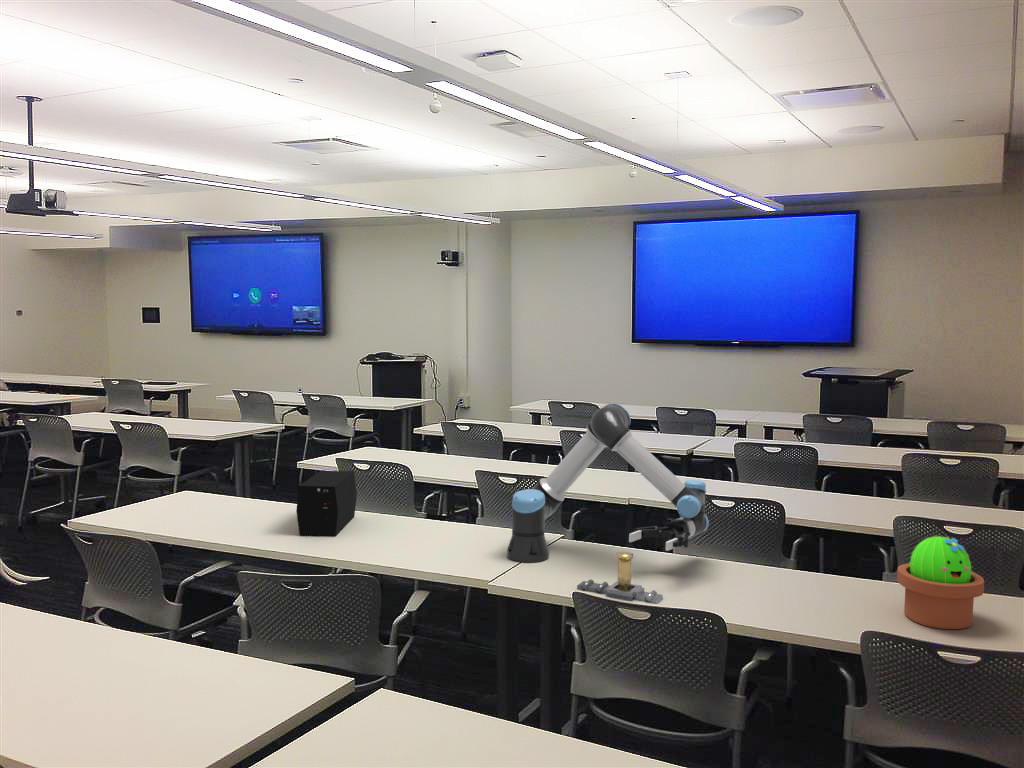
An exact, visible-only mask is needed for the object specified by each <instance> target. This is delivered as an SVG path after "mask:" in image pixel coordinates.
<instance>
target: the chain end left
mask: <svg viewBox="0 0 1024 768" xmlns="http://www.w3.org/2000/svg"><path fill="white" fill-rule="evenodd" d="M610 586H611V585H609V583H608V582H606V581H603V582H602V583H597V582H595V581H594V580H593V579H592V578H591V579H589V580H587V581H585V580H583V581H581V582H580V583H578V584H577V585H576V587H577V588H576V589H577V590H581V591H583V592H584V591H586V592H592V593H597V594H603V595H606V597H607V598H608V597H609V598H613V597H615V598H614V599H620V600H625V601H631V602H633V601H634V600H635V599H634V596H633V597H629V596H623V595H617V594H612V593H606V589H607V588H608V587H610ZM617 589H618V588H617Z"/></svg>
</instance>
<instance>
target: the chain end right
mask: <svg viewBox="0 0 1024 768" xmlns="http://www.w3.org/2000/svg"><path fill="white" fill-rule="evenodd" d="M609 586H610V587H608V588H607V589H606V593H612V594H617V595H623V596H629V597H633V596H634V600H637V601H641V602H646V603H652V604H659V603H660V602H661V601H662V600H663V599H664V595H663V594H660V593H658V592H657V591H656V590H651V591H650V592H648V591H645V587H643V585H640V584H635V583H631V590H630V591H626V590H620V589H617V588H618V580H617V581H615V582H613V583H612V584H611V585H609Z"/></svg>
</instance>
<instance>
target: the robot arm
mask: <svg viewBox="0 0 1024 768" xmlns="http://www.w3.org/2000/svg"><path fill="white" fill-rule="evenodd" d="M630 425H631V415H630V412H629V410H628V409H627V408H626V407H624V406H623V405H621V404H619V403H609V404H606V405H604V406H603V407H600V408H599V409H597V410H596V411H595V412H594V413H593V415H592V416H591V420H590V421H589V423H587V425H586V432H585V434H584V435H583V436H582V437H581V438H580V439H579V441H578V442H577V443H576V444H575V445H574V447H572V448H571V450H570V451H569V452H568V453H567V454H566V455H565V457H564V458H563V459H562V460H561V461H560V462H559V464H558V465H557V466H556V467H555V468H554V469H553V470H552V471H551V472H550V474H549V475H548V476H547V477H544V478H543V477H542V478H540V479H539V480H538V481H537V482H536V484H535V485H534V486H533V487H532V488H530V489H529V488H526V489H523V490H518V491H516V492H514V494H513V495H512V501H511V506H512V507H511V509H512V511H511V516H512V517H511V524H512V525H511V526H512V527H511V531H512V532H511V537H510V540H509V543H508V547H507V549H506V552H507V553H506V557H507V558H508V559H509V560H511V561H514V562H519V563H539V562H543V561H546V560H548V559H549V557H550V550H549V547H548V543H547V540H546V536H545V521H546V519H548V518H549V517H551V516H553V514H555V513H556V512H557V509H558V508H559V506H560V505H561V504H562V503H563V502H564V500H565V493H566V492H567V491H568V490H569V488H570V487H571V486H572V485H574V483H575V482H576V481H577V480H578V478H579V477H580V476H581V475H582V474H583V473H584V472H585V470H586V469H587V468H588V467H589V466H590V464H592V463H593V462H594V460H596V458H597V457H598V456H599V454H601V452H602V451H603V450H604V449H605V448H608V449H610V451H611V452H617V453H618V455H620V456H621V457H622V458H623V459H624V460H625V461H627V463H629V464H630V466H632V467H633V468H634V469H635V470H636V471H637V472H638V473H639V474H640V475H641V476H643V478H645V480H647V482H649V483H650V484H651V485H652V486H653V487H654V488H655V489H656V490H657V491H659V492H660V493H661V494H662V495H663V496H664V497H665V498H666V499H667V500H668V501H669V502H670V503H671V504H672V505H673V506H674V507H676V510H677V513H678V514H679V515H680V516H681V517H679V518H675V519H673V520H670V521H669V522H668V523H667V524H666V525H665V526H663V527H662V526H661V527H659V526H658V525H656V524H655V525H652V526H643V527H634V528H633V532H631V533H629V535H628V543H633V542H635V541H638V540H641V539H642V538H657V539H664V540H668V541H666V542H665V550H664V551H667V552H668V551H671V550H674V549H676V548H678V547H680V548H681V547H683V548H688V547H689V542H690V541H691V539H692V538H693V537H695V536H698V535H701V534H703V533H704V532H705V531H707V530H708V528H709V526H710V521H709V518H708V516H707V515H706V511H705V507H706V493H707V490H706V486H707V485H706V482H705V481H702V480H700V479H699V480H698V479H687V480H685V481H684V482H683V481H681V480H680V479H679V478H678V477H677V476H676V475H675V474H674V473H673V472H672V471H671V470H670V469H669V468H667V467H666V465H664V464H663V463H662V462H661V461H660V460H659V459H658V458H657V457H656V456H654V454H652V453H651V452H650V451H649V450H648V449H647V448H646V447H645V446H644V445H642V444H641V442H639V440H637V439H636V438H635V437H634V436H633V435H632V431H631V429H630Z"/></svg>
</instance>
